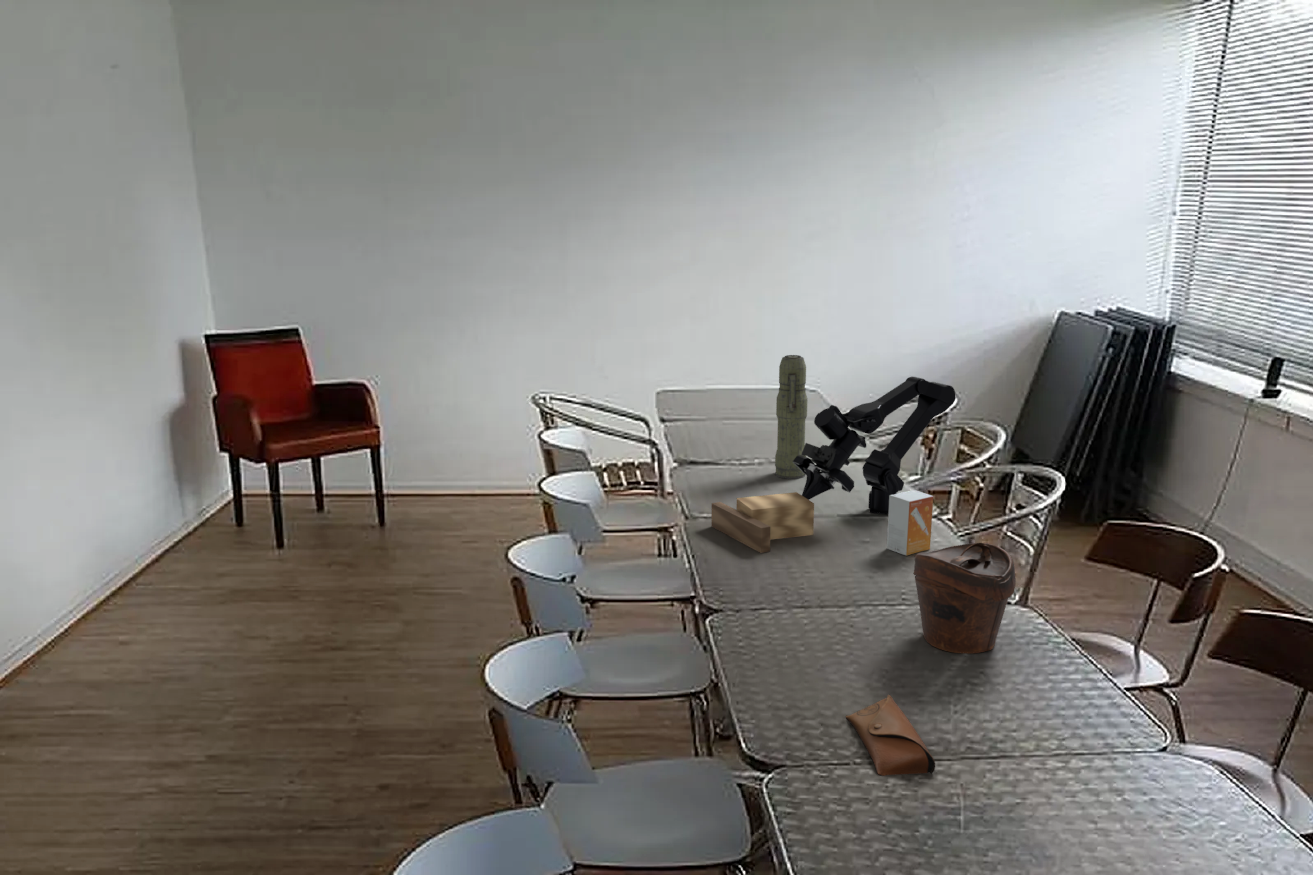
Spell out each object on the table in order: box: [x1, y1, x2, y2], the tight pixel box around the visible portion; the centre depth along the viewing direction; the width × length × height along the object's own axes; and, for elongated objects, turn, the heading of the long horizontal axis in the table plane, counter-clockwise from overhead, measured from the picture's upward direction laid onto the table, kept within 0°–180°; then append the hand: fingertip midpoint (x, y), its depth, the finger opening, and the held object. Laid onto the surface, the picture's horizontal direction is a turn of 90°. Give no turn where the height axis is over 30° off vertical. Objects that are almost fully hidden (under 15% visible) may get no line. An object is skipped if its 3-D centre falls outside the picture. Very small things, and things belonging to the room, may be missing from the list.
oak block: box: [736, 491, 815, 541], centre depth 246 cm, size 16×10×8 cm, turn 107°
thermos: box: [774, 354, 808, 480], centre depth 293 cm, size 9×12×35 cm
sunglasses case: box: [845, 694, 936, 777], centre depth 152 cm, size 18×7×7 cm
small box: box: [886, 489, 934, 557], centre depth 233 cm, size 8×6×13 cm
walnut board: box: [710, 501, 771, 554], centre depth 242 cm, size 2×22×6 cm, turn 28°
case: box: [913, 542, 1017, 655], centre depth 185 cm, size 18×20×18 cm
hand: (802, 500), depth 249 cm, fingers closed, pressing on oak block
